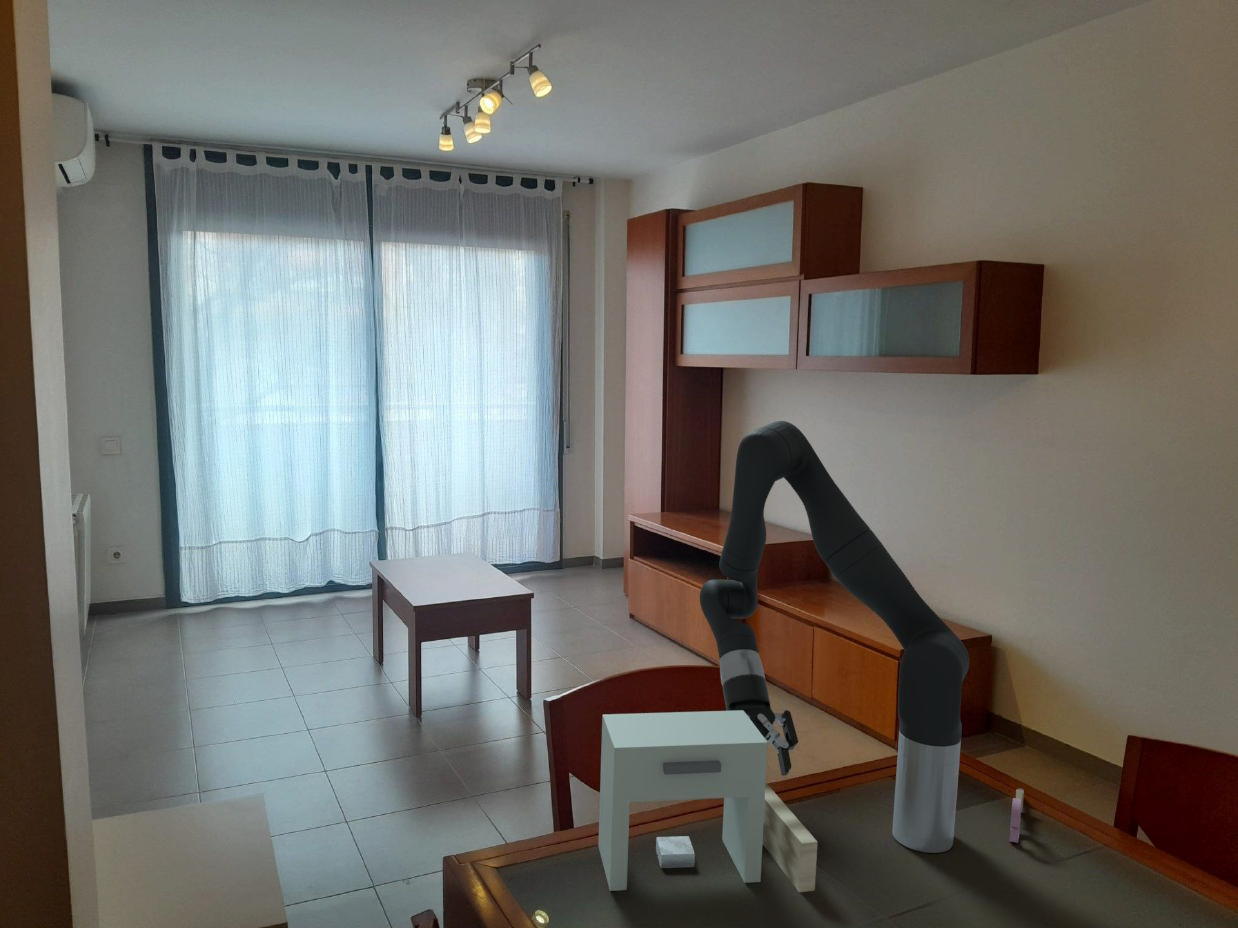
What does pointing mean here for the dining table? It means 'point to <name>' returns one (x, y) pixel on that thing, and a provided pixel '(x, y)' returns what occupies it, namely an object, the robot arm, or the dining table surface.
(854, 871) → the dining table surface
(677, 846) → the block
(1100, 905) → the dining table surface
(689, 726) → the desk
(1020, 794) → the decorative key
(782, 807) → the beech blade
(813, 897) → the dining table surface
